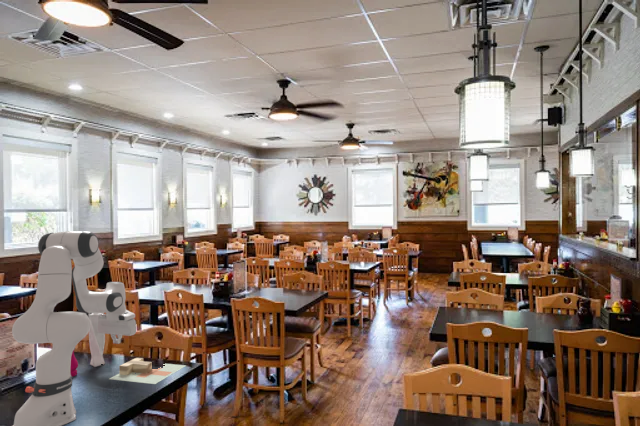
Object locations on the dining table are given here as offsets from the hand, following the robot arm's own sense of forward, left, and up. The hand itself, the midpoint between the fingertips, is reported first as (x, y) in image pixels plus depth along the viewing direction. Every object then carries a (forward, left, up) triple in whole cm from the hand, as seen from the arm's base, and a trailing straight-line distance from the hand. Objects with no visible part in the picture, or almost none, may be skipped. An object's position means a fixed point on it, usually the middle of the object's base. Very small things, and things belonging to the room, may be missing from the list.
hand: (116, 343), depth 216 cm
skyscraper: (+4, +15, -13) cm, 20 cm away
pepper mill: (-12, +16, -13) cm, 24 cm away
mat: (0, -18, -13) cm, 22 cm away
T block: (0, -13, -12) cm, 18 cm away
